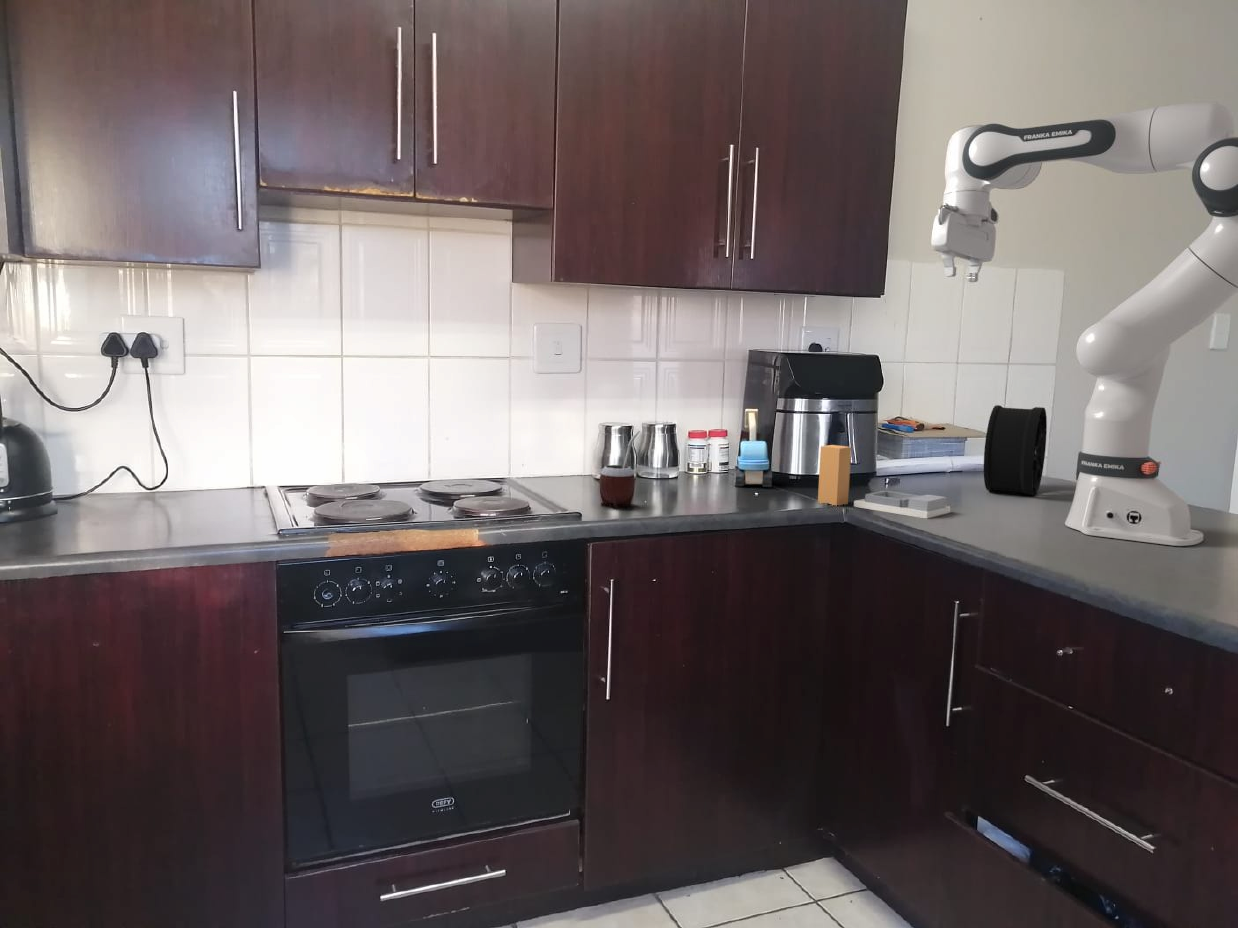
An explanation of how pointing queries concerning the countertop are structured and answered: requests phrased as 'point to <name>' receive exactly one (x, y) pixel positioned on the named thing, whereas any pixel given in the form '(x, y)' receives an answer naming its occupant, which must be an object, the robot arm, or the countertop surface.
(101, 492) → the countertop surface
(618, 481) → the mate gourd
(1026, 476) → the car wheel rim
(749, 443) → the toy excavator
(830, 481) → the tall tan wooden block
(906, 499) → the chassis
